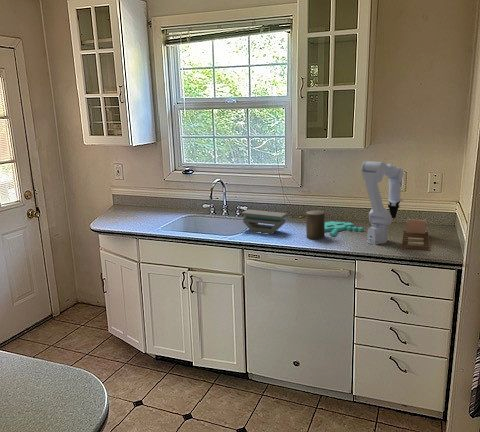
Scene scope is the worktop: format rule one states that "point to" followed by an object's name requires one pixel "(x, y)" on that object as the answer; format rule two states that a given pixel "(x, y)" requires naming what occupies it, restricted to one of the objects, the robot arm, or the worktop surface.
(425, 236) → the rack
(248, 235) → the worktop surface
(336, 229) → the teal pixel toy sword
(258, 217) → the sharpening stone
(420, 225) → the salmon rectangular slab
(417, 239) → the offcut
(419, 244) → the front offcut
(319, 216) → the pillar candle
